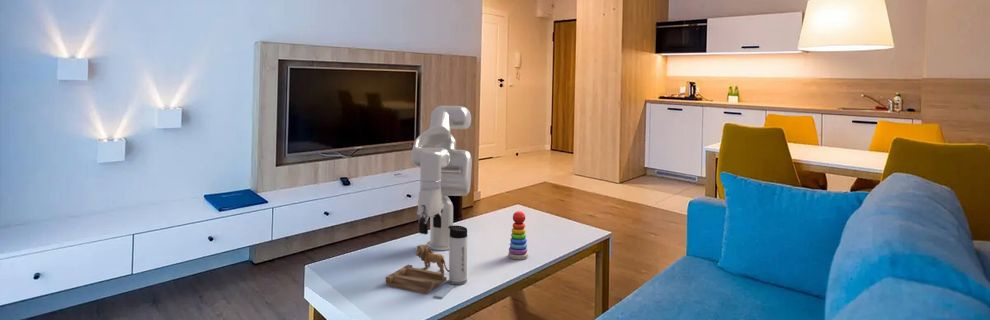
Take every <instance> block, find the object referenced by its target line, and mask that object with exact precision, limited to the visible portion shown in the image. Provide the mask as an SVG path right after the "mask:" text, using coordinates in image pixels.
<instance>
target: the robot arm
mask: <svg viewBox="0 0 990 320" xmlns="http://www.w3.org/2000/svg"><path fill="white" fill-rule="evenodd" d="M471 124H472V115H471V111H470V110H469V109H468V108H467V107H465V106H461V105H439V106H436V107H435V108H434V110H433V111H432V112H431V113H430V124H429V128H428V129H427V130H425V131H423V132H422V133H421V134H420V135H419V136H418V137H416V139H415V140H414V142H413V146H412V150H411V155H410V159H411V164H412V165H413V166H414V167H416V168H420V171H419V172H420V178H419V180H420V190H419V193H418V200H417V212H416V217H417V221H418V224H419V229H418V230H419V231H418V232H419V234H420V235H428V233H429V236H430V237H429V239H430V240H428V241H427V242H426V247H427V248H429V249H430V250H433V251H449V238H450V237H449V236H450V228H449V226H454V205H453V202H452V201H451V199H450V197H449V196H451V197H452V196H454V197H456V196H457V197H458V196H459V197H461V196H462V197H465V196H467V195H469V193H470V191H471V185H472V184H471V182H472V167H473V166H472V164H473V163H472V161H473V160H472V159H473V158H472V155H471V152H470V151H468V150H465V149H456V143H457V141H456V138H454V135H452V133H451V131H452V130H467V129H469V128H470V126H471ZM433 146H435V147H433ZM429 218H430V219H429ZM428 220H429V223H428ZM429 225H430V226H429ZM429 228H430V229H429ZM448 228H449V229H448ZM429 230H430V231H429Z"/></svg>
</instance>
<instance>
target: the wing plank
mask: <svg viewBox="0 0 990 320" xmlns="http://www.w3.org/2000/svg"><path fill="white" fill-rule="evenodd" d="M454 288H455V286H454V284H444V285H443V286H442V287H441V288H440V289H439V290H438V291H437V292H436V293H435V294H434V295H433V298H435V299H440V300H441V299H444V298H445V296H447V295H448V294H449V293H450V292H451V291H452V290H453V289H454Z"/></svg>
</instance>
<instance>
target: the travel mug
mask: <svg viewBox="0 0 990 320" xmlns="http://www.w3.org/2000/svg"><path fill="white" fill-rule="evenodd" d="M449 228H450V236H449V237H450V238H449V250H448V252H449V257H448V261H449V262H448V263H449V264H448V270H449V272H448V277H449V278H448V282H449V283H450V285H455V286H456V285H458V286H461V285H464V284H466V283H467V281H468V278H467V277H468V229H467V227H465V226H463V225H453V226H449ZM449 228H448V229H449Z"/></svg>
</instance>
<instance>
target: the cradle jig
mask: <svg viewBox="0 0 990 320" xmlns="http://www.w3.org/2000/svg"><path fill="white" fill-rule="evenodd" d="M445 281H447V276H445V272H444V273H441V272H438V271H433V270H428V269H427V270H424V268H423V269H422V268H418V267H417V268H416V267H413V265H412V264H407V265H405V266H403V267H401V268H400V269H398V270H396V271H394V272H393V273H391V274H389V275H387V276H386V277H385V286H387V287H390V288H396V289H400V290H405V291H410V292H414V293H418V294H423V295H427V294H428V293H430V292H431V291H432V290H434V289H436V288H437V287H439V286H440V285H442V284H443V283H444V282H445Z"/></svg>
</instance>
